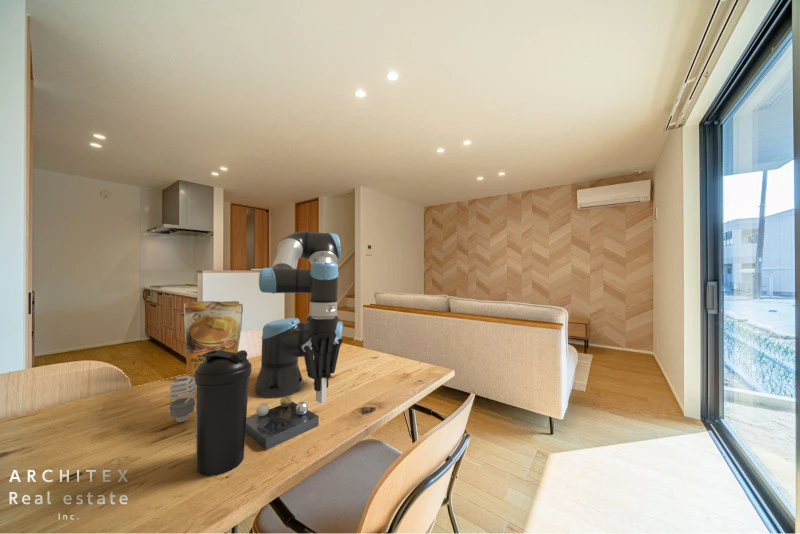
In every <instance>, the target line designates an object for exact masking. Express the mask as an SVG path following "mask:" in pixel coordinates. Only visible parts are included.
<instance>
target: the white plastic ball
mask: <svg viewBox="0 0 800 534" xmlns="http://www.w3.org/2000/svg"><path fill="white" fill-rule="evenodd" d="M269 409H270V406H269V405H268V404H267V403H260V404H259V405H258V406H257V407H256V414H258V415H259V416H264V415H266V414H267V413H268V411H269Z"/></svg>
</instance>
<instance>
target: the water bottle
mask: <svg viewBox="0 0 800 534" xmlns="http://www.w3.org/2000/svg"><path fill="white" fill-rule="evenodd" d="M202 357H206V359H205V361H204V362H202V363H201V364H200V365H199V367H198V369H197V370H196V371H195V379H194V380H195V383H196V404H195V405H196V406H195V410H196V412H195V417H196V418H195V419H196V420H195V426H196V428H195V430H196V433H195V434H196V435H195V438H196V453H195V454H196V455H195V456H196V462H195V463H196V464H195V465H196V472H197V473H198V475H201V476H203V477H215V476H219V475H223V474H226V473H228V472H231V471H232V470H233V469H235V468H237V467H238V466H239V465H241V463H242V461H243V460H244V457H245V445H246V444H245V443H246V433H245V431H246V418H247V417H248V415H247V413H248V400H249V399H248V398H249V384H250V383H249V382H250V376H251V374H252V364H251V362H250V361H249V359H248V358H247V357H248V351H247V350H244V349H240V350H238V352H237V353H233V352H227V351H223V350H212V351H209V352H207V353H205V354H203V355H202Z"/></svg>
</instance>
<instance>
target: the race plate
mask: <svg viewBox="0 0 800 534" xmlns="http://www.w3.org/2000/svg"><path fill="white" fill-rule="evenodd" d="M297 404H298V403H296V402H294V401H292V402H291V404H290V406H288V407H282V406H281V404H280V405H278V406H275V407H271V408H269V411H268V413H267V414H266V415H264V416H259V415H258V414H257V413H255V414H253V415H250V416H246V431H245V435H246V436H248V437H249V438H251V440H253V441H254V442H255V443H257V444H258V445H259V446H260V447H261V448H263V449H264V450H265V451H267V450H269V449H272V448H273V447H275V446H278V445H281V444H282V443H284V442H286V441H289V440H291V439H293V438H295V437H297V436H299V435H302V434H304V433H306V432H308V431H310V430H312V429H314V428H316V427H319V426H320V425H319V421H320V420H319V419H320V418H319V415H317V414H316V413H314V412H312V411H310V410H309V409H308V411H307V412H306V413H305V414H304V415H298V414H297V413H296V410H295V409H296V406H297Z"/></svg>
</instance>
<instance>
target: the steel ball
mask: <svg viewBox="0 0 800 534" xmlns="http://www.w3.org/2000/svg"><path fill="white" fill-rule="evenodd" d="M296 404H297V406H296V409H295V410H296V413H297V414H298V415H304V414H305V413H306V412H307V411H308V410H309V405H308V403H307V402H305V401H300V402H298V403H296Z"/></svg>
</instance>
